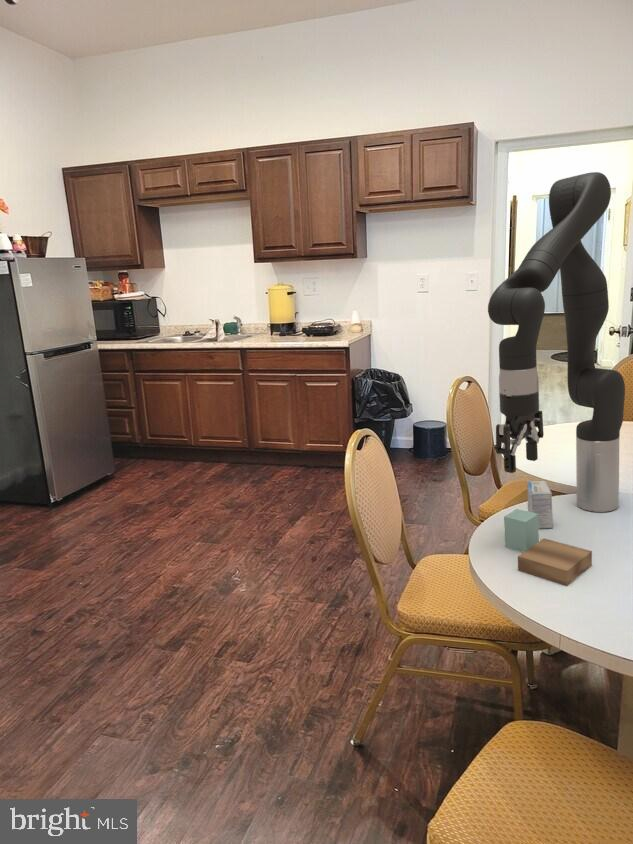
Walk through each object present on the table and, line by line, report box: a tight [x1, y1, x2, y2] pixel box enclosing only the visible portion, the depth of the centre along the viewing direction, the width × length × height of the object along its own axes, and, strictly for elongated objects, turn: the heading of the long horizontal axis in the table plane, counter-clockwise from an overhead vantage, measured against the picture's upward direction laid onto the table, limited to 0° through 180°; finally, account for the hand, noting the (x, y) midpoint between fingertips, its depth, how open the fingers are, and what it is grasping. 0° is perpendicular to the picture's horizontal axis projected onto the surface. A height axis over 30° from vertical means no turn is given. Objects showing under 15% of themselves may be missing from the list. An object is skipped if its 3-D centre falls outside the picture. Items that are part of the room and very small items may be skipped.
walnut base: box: [517, 538, 593, 587], centre depth 119 cm, size 10×10×3 cm
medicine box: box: [526, 480, 554, 529], centre depth 140 cm, size 8×4×9 cm, turn 168°
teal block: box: [503, 508, 540, 553], centre depth 130 cm, size 5×5×7 cm
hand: (521, 466), depth 126 cm, fingers open, 8 cm apart
